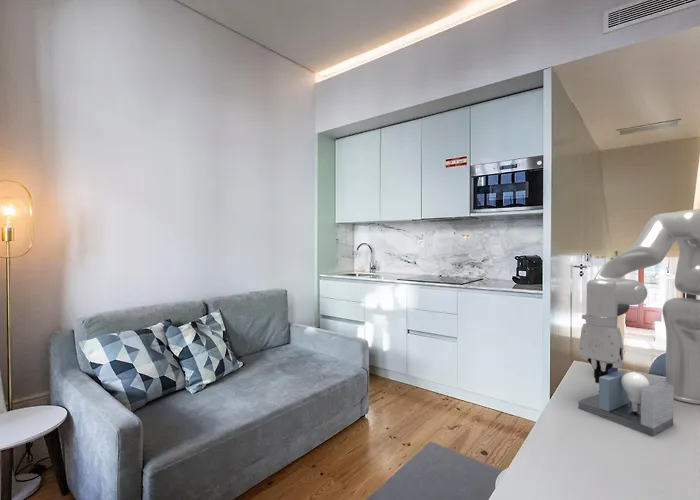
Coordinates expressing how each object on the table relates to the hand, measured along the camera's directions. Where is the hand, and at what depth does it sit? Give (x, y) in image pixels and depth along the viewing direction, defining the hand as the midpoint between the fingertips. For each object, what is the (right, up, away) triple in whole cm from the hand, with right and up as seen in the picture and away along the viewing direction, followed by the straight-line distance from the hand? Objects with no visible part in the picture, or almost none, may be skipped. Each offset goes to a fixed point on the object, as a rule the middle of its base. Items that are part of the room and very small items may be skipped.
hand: (600, 382), depth 106 cm
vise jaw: (+2, -5, -3) cm, 6 cm away
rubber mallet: (+22, -8, +25) cm, 34 cm away
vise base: (+3, -8, -5) cm, 10 cm away
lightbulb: (+5, -6, -7) cm, 10 cm away
